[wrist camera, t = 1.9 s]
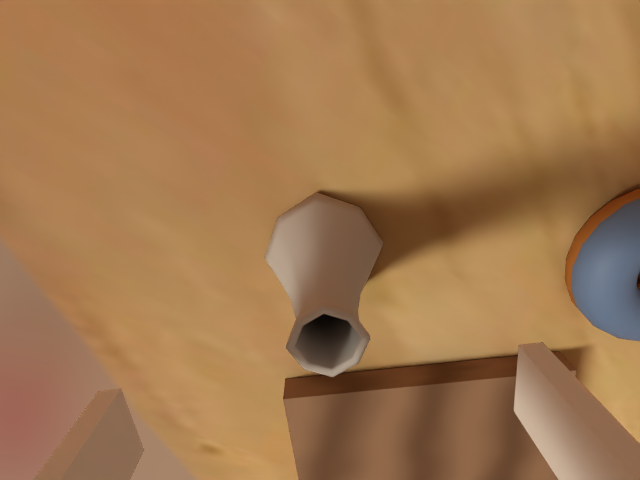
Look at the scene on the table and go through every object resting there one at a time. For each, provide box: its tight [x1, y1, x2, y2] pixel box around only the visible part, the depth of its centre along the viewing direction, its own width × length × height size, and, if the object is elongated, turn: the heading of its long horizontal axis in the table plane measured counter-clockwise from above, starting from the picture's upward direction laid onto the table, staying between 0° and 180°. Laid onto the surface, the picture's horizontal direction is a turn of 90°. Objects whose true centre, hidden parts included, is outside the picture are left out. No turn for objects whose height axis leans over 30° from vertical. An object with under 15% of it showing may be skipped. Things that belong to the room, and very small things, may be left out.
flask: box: [265, 192, 384, 377], centre depth 20 cm, size 7×7×10 cm
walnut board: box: [283, 352, 577, 480], centre depth 30 cm, size 20×16×2 cm
